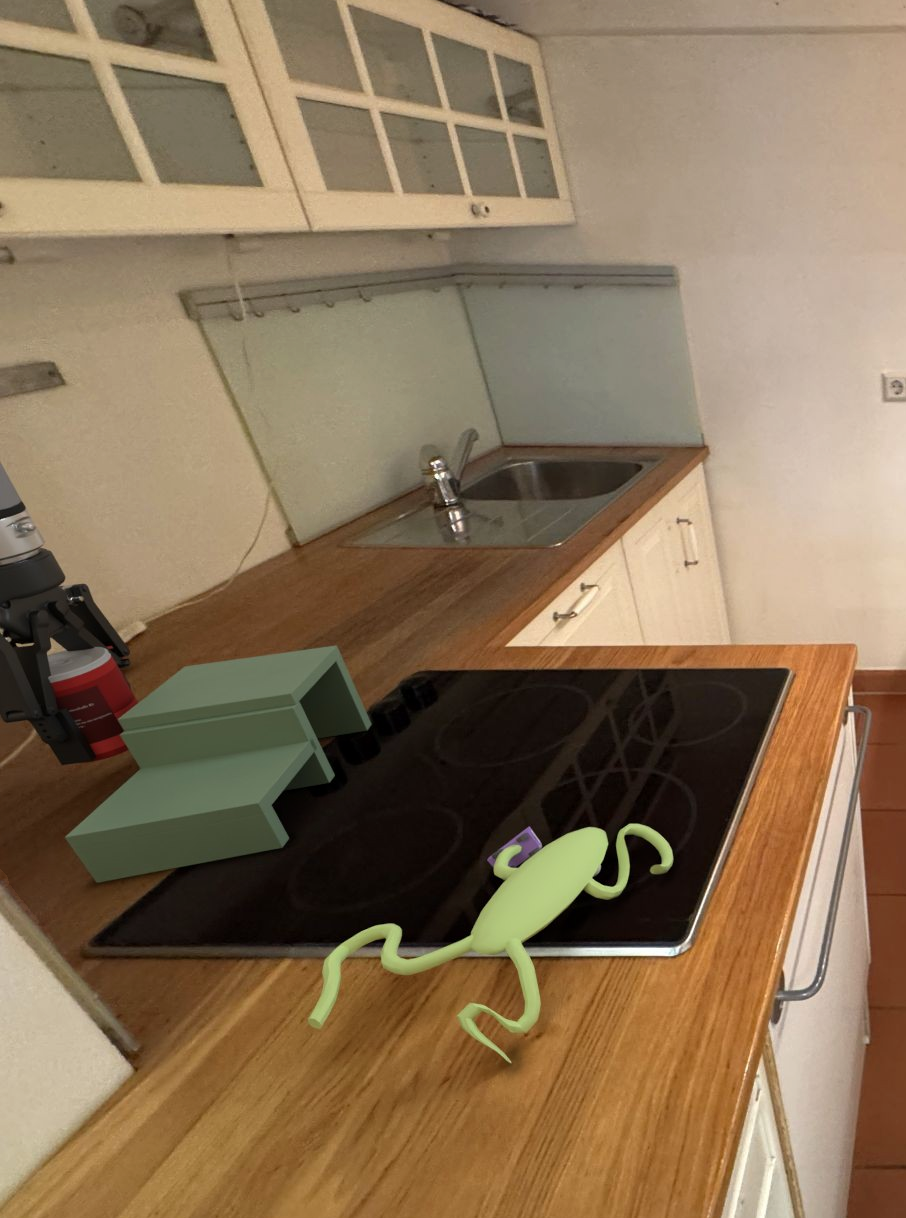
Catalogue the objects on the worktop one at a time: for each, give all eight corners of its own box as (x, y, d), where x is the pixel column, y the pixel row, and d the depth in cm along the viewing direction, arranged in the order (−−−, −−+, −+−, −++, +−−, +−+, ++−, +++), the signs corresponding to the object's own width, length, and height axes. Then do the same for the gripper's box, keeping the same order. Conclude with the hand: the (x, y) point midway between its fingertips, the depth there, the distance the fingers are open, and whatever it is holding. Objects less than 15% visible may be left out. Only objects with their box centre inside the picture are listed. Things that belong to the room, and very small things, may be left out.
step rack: (96, 883, 77) (29, 787, 72) (229, 747, 98) (184, 666, 92) (282, 847, 81) (231, 754, 75) (372, 724, 101) (337, 645, 96)
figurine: (294, 1043, 60) (264, 995, 58) (547, 819, 83) (533, 777, 81) (479, 1107, 55) (454, 1057, 53) (694, 849, 78) (683, 806, 76)
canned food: (129, 721, 94) (83, 641, 89) (170, 732, 91) (125, 651, 86) (45, 757, 87) (-10, 673, 82) (86, 770, 85) (33, 685, 80)
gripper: (-45, 592, 71) (81, 788, 81) (109, 522, 89) (197, 689, 99) (-151, 602, 69) (-9, 802, 79) (28, 529, 87) (126, 699, 97)
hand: (105, 739), depth 89 cm, fingers closed on canned food, 8 cm apart
